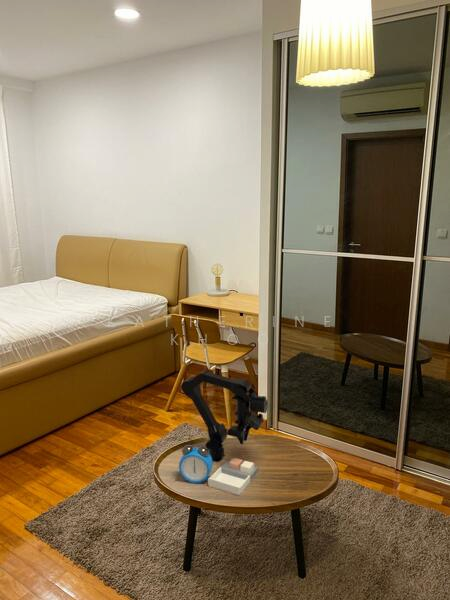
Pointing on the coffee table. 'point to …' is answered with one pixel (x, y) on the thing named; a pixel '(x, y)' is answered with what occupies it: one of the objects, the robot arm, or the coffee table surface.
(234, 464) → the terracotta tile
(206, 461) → the alarm clock
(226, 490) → the tray
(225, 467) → the slate plate
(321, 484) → the coffee table surface
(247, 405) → the robot arm
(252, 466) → the cream block
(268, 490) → the coffee table surface
